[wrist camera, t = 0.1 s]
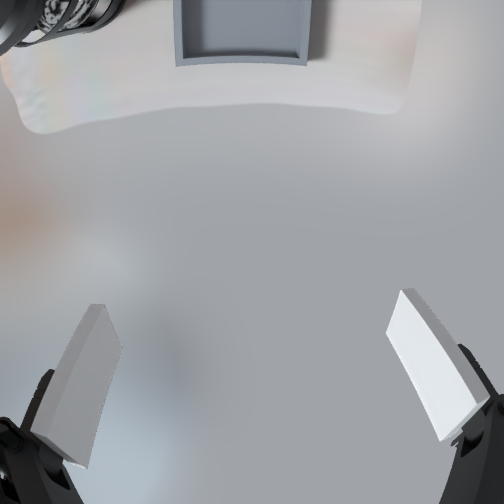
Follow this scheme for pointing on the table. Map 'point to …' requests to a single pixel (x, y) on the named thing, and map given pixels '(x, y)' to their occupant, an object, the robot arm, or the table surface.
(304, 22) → the tray
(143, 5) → the table surface
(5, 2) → the french press
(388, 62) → the table surface
